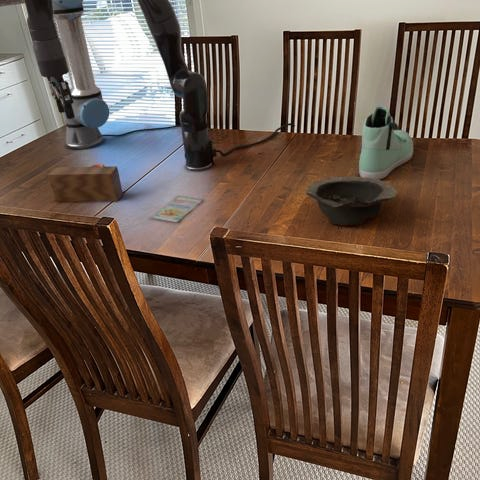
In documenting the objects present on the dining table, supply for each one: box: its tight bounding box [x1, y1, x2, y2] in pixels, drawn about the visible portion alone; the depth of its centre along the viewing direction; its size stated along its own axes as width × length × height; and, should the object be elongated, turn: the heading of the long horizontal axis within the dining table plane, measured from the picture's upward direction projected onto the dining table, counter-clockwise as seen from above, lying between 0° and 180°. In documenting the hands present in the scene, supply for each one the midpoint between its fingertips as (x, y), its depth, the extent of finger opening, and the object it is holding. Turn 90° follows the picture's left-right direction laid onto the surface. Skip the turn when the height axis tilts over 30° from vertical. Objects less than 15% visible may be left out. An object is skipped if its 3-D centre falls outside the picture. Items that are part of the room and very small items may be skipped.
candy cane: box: [89, 163, 106, 167], centre depth 174 cm, size 6×15×2 cm, turn 145°
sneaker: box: [358, 105, 414, 180], centre depth 160 cm, size 14×35×20 cm, turn 152°
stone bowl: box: [304, 175, 398, 227], centre depth 135 cm, size 25×25×9 cm
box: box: [47, 165, 124, 203], centre depth 155 cm, size 21×6×10 cm, turn 83°
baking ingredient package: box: [151, 196, 203, 223], centre depth 146 cm, size 9×1×15 cm
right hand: (66, 115), depth 138 cm, fingers open, 8 cm apart
